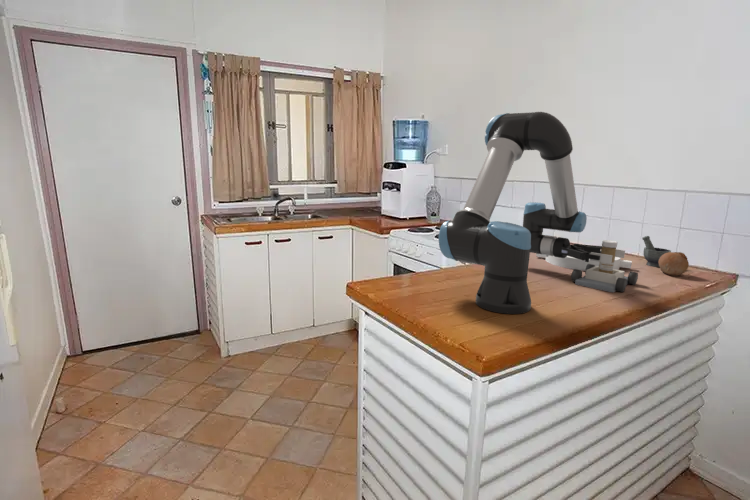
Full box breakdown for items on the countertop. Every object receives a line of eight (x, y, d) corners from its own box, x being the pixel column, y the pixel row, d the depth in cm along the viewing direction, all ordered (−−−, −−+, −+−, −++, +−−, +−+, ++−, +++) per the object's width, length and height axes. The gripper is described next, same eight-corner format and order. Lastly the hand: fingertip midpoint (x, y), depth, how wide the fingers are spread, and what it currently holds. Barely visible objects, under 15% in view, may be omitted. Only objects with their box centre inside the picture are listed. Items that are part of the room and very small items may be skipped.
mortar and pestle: (672, 266, 174) (677, 238, 172) (663, 269, 169) (668, 240, 166) (643, 261, 183) (647, 234, 181) (633, 263, 178) (638, 236, 175)
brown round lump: (680, 282, 161) (699, 261, 157) (670, 279, 155) (689, 257, 152) (658, 268, 168) (675, 248, 164) (648, 265, 162) (665, 243, 159)
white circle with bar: (532, 257, 186) (533, 247, 185) (585, 256, 192) (586, 245, 191) (575, 273, 159) (577, 261, 158) (635, 271, 166) (637, 259, 165)
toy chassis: (619, 294, 133) (622, 280, 132) (569, 282, 145) (570, 270, 144) (637, 283, 147) (639, 270, 146) (590, 273, 158) (591, 262, 157)
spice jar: (600, 280, 144) (606, 242, 141) (594, 276, 148) (600, 239, 145) (614, 280, 143) (620, 242, 141) (608, 277, 148) (613, 240, 145)
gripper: (567, 252, 166) (627, 262, 151) (539, 261, 149) (603, 273, 134) (570, 233, 164) (630, 242, 149) (542, 240, 147) (607, 250, 132)
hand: (618, 256), depth 142 cm, fingers open, 13 cm apart
